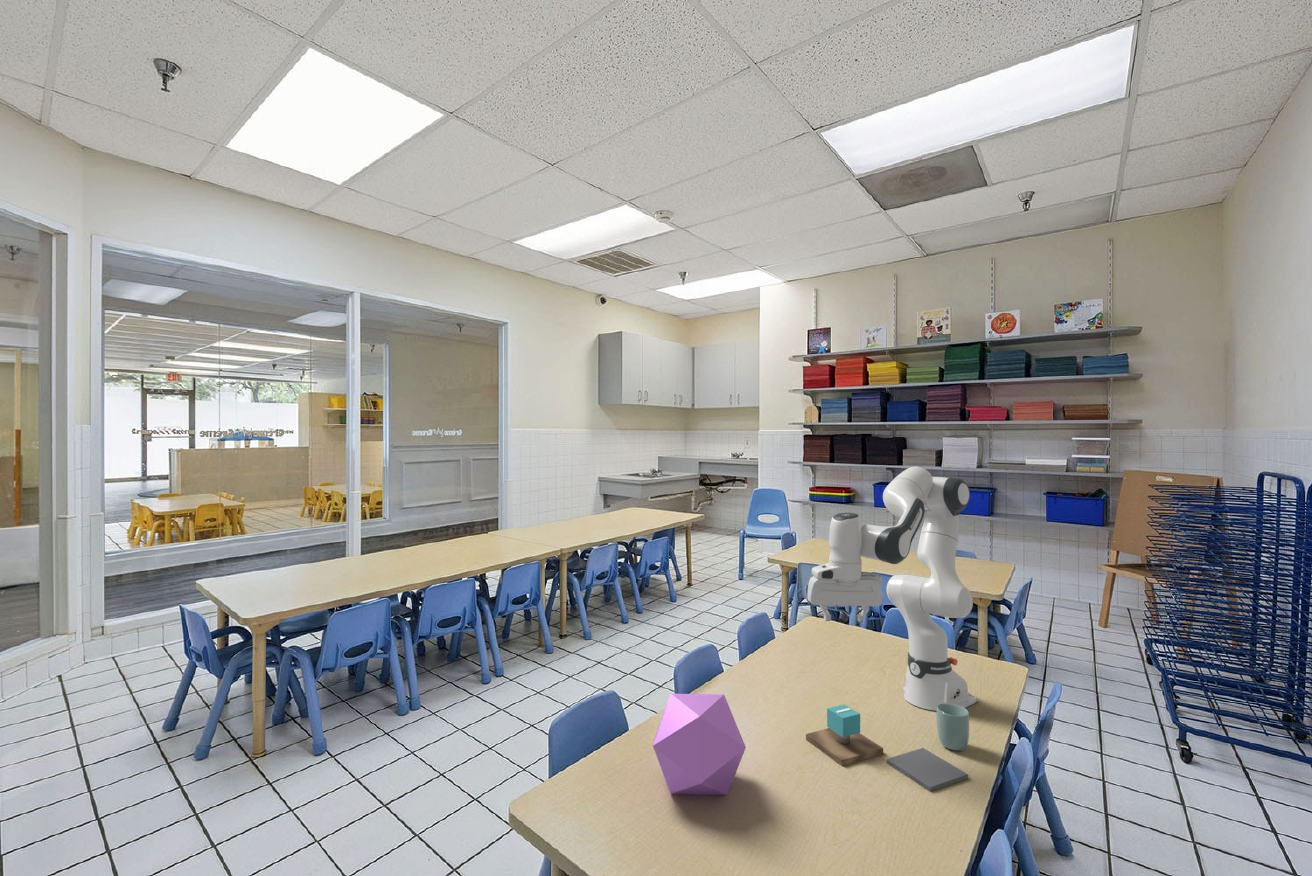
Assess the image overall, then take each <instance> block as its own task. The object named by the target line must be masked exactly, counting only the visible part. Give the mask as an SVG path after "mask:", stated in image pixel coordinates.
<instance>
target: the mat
mask: <svg viewBox="0 0 1312 876" xmlns="http://www.w3.org/2000/svg"><path fill="white" fill-rule="evenodd" d="M886 764H887V765H889V766H891V767H892V768H894V770H897V771H898V772H900V773H901V774H903V775H904V776H905V777H907V778H909V779H910V780H911V781H913V782H915V783H916V784H918V785H919V786H921V787H922V788H924V789H925V790H927V791H928V792H932V791H936V790H939V789H942V788H944V787H948V786H950V785H953V784H955V783H958V782H962V781H965V780H967V779H969V774H968V772H965V771H963V770H962V769H961V768H958V767H957V766H955V765H953V764H952V763H950V762H948V761H946V760H944V759H943V758H941V757H939V756H937V755H936V754H934V753H933V752H931V751H930V750H927V749H926V748H924V747H922V748H919V749H914V750H911V751H908V752H905V753H901V754H897V755H895V756H892V757H888V758H886Z"/></svg>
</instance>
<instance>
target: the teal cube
mask: <svg viewBox="0 0 1312 876" xmlns="http://www.w3.org/2000/svg"><path fill="white" fill-rule="evenodd" d="M826 723H827V725H826V726H827V728H830V729H831V730H833V731H834V732H836V733H837V734H839V735H840V736H842V737H846V736H850V735H853V734H857V733H860V734H861V713H860V712H858V711H856V710H854V709H853V708H851V707H850V706H848V705H847V704H840V705H835V706H832V707H827V708H826Z"/></svg>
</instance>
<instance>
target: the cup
mask: <svg viewBox="0 0 1312 876" xmlns="http://www.w3.org/2000/svg"><path fill="white" fill-rule="evenodd" d="M936 729H937V730H936V731H937V735H938V736H937V737H938V739H939V741H940V743H941V745H942V746H943V747H945V748H946V749H949V750H952V751H957V752H958V751H959V752H960V751H964V750H966V749H967V746H968V744H969V740H970V739H969V738H970V713H969V711H968V709H967V708H964V707H962V706H959V705H956V704H950V703H941V704H938V705H937V711H936Z"/></svg>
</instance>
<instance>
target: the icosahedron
mask: <svg viewBox="0 0 1312 876" xmlns="http://www.w3.org/2000/svg"><path fill="white" fill-rule="evenodd" d="M653 740H654V741H653V744H652V748H653V750H654V753H655V755H656V758H657V760H658V764H659V766H660V769H661V771H662V774H663V777H664V780H665V782H666V786H667V788H668V790H669V793H670V794H671V795H704V796H705V795H707V796H709V795H710V796H711V795H712V796H715V795H717V796H728V793H729V791H730V788H731V786H732V784H733V781H734V779H735V776H736V774H737V771H738V769H739V766H740V763H741V761H742V758H743V755H744V754H745V753H744V752H745V751H746V748H747V747H746V744H745V743H744V739H743V737H742V735H741V732H740V729H739V727H738V725H737V723H736V720H735V717H734V715H733V713H732V710H731V708H730V706H729V703H728V700H727V698H726V695H725V694H723V693H722V694H721V693H718V694H717V693H714V694H713V693H709V694H708V693H670V695H669V698H668V701H667V703H666V705H665V709H664V711H663V714H662V717H661V720H660V722H659V726H658V728H657V730H656V733H655V736H654V739H653Z"/></svg>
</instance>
